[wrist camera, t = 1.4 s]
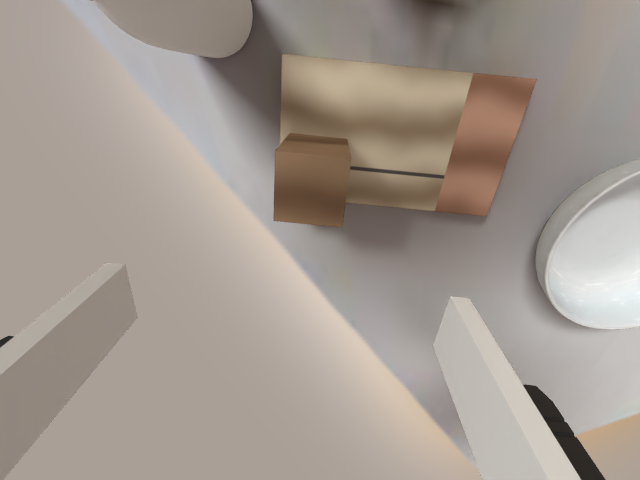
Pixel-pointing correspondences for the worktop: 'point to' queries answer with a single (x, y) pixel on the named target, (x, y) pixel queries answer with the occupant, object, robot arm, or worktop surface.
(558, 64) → the worktop surface
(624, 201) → the serving bowl
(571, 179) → the worktop surface
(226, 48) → the milk bottle
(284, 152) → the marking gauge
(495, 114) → the maple board
